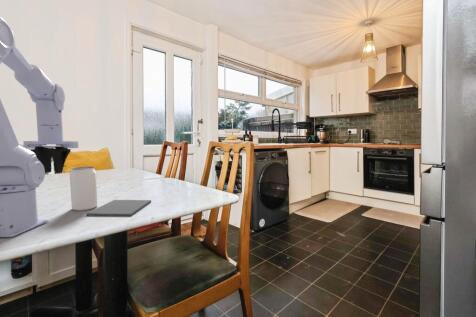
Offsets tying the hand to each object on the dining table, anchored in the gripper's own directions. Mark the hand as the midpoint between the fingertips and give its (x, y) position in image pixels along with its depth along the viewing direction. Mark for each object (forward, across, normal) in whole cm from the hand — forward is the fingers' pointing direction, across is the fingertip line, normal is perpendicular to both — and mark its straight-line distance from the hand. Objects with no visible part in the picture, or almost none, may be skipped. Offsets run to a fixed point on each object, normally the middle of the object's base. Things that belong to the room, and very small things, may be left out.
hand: (52, 172), depth 69 cm
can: (+11, -9, 0) cm, 14 cm away
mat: (+10, -20, 0) cm, 23 cm away
